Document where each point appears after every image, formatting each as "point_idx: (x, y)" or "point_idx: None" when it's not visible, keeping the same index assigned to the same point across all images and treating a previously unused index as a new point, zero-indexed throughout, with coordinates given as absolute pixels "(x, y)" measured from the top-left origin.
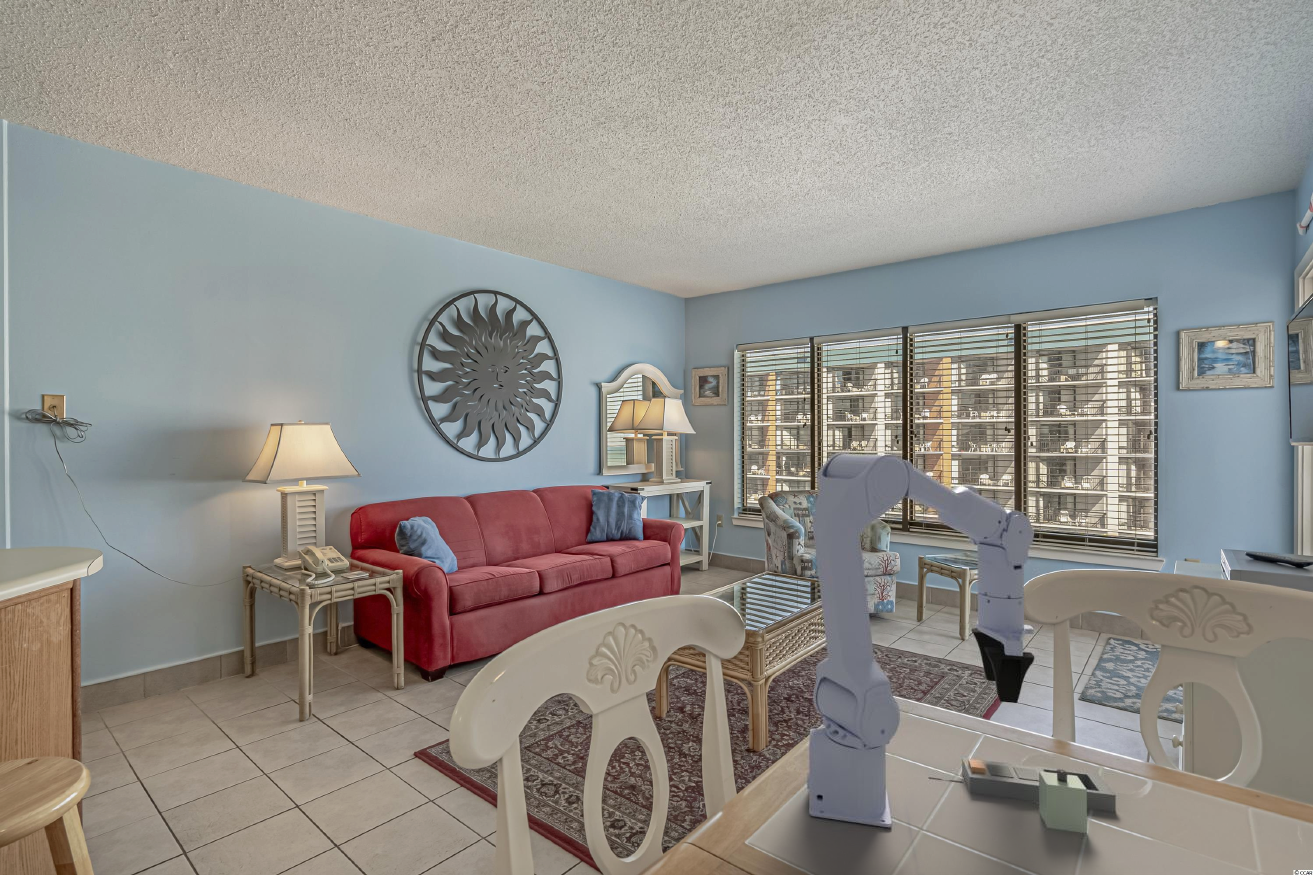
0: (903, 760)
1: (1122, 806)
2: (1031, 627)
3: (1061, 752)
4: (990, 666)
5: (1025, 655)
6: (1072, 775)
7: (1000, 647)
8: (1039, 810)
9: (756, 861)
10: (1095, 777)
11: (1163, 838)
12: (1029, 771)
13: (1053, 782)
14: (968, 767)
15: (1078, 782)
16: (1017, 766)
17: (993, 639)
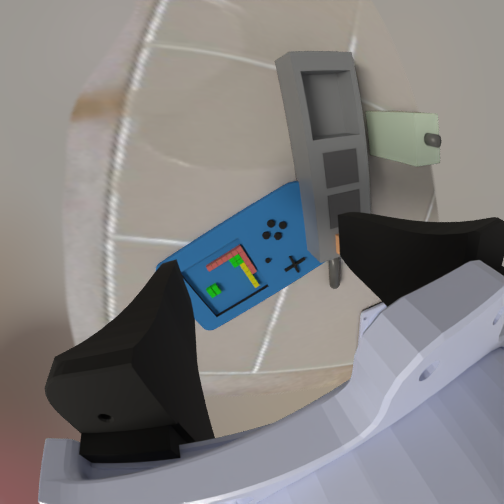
0: (278, 319)
1: (287, 37)
2: (481, 317)
3: (116, 104)
4: (187, 322)
5: (496, 253)
6: (413, 119)
7: (173, 353)
8: (379, 156)
9: None
10: (305, 60)
11: (347, 23)
12: (333, 164)
13: (434, 152)
14: None
15: (427, 118)
16: (319, 181)
17: (191, 407)
